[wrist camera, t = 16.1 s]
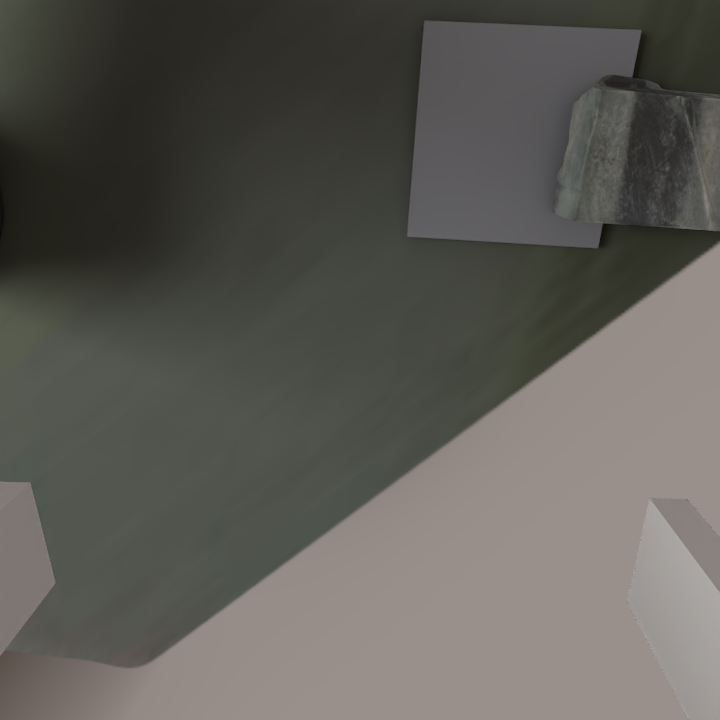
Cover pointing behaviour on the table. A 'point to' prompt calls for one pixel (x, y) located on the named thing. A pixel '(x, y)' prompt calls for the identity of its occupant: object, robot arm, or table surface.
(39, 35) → the table surface
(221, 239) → the table surface
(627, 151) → the stone block
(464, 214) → the slate pad
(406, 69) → the table surface
